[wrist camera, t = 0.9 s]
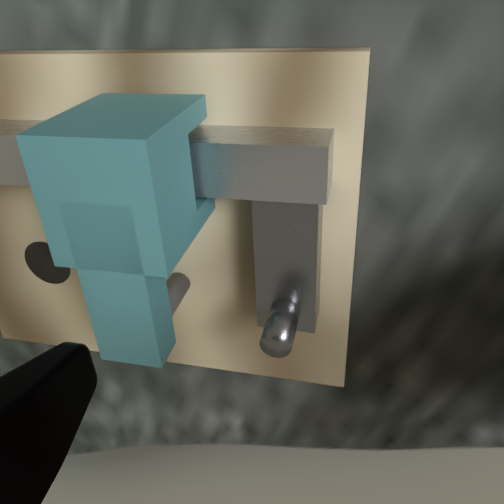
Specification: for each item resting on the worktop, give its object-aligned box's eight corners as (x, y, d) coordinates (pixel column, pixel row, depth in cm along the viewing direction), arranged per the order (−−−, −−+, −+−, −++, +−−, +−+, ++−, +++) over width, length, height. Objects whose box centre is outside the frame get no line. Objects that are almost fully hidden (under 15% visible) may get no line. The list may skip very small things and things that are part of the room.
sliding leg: (205, 94, 17) (145, 139, 13) (223, 295, 21) (183, 377, 17) (102, 93, 18) (15, 135, 14) (140, 286, 22) (83, 362, 18)
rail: (334, 128, 17) (328, 147, 15) (332, 181, 18) (326, 204, 16) (-67, 117, 21) (-107, 131, 19) (-50, 161, 22) (-87, 179, 20)
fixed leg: (323, 181, 18) (310, 227, 15) (319, 309, 21) (307, 369, 18) (261, 178, 18) (235, 222, 15) (265, 303, 22) (245, 361, 18)
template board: (370, 47, 16) (369, 51, 15) (345, 375, 24) (343, 387, 23) (-96, 51, 20) (-113, 55, 19) (12, 328, 28) (3, 338, 27)
